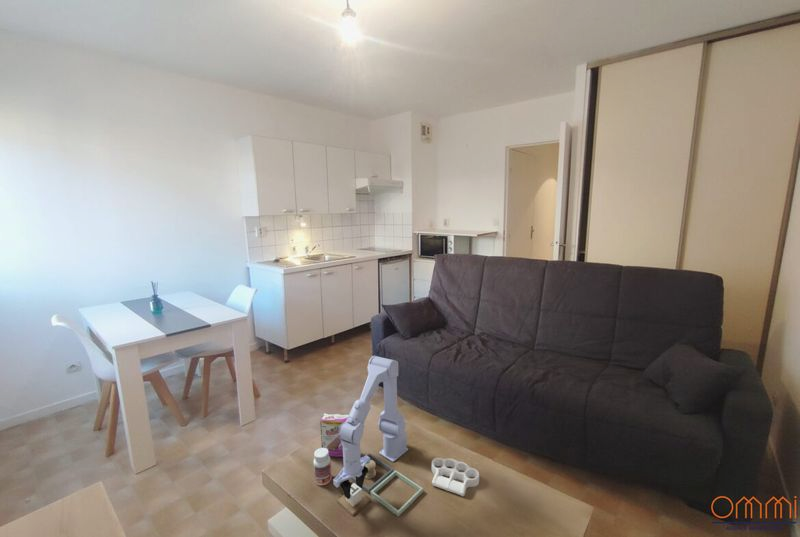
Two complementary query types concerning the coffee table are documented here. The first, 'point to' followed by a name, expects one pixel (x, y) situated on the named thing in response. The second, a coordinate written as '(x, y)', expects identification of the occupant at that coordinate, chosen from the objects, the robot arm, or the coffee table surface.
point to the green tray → (386, 504)
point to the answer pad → (357, 507)
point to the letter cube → (354, 495)
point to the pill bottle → (322, 466)
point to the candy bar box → (332, 433)
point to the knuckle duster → (453, 475)
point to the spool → (371, 470)
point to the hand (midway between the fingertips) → (353, 491)
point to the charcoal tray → (390, 471)
